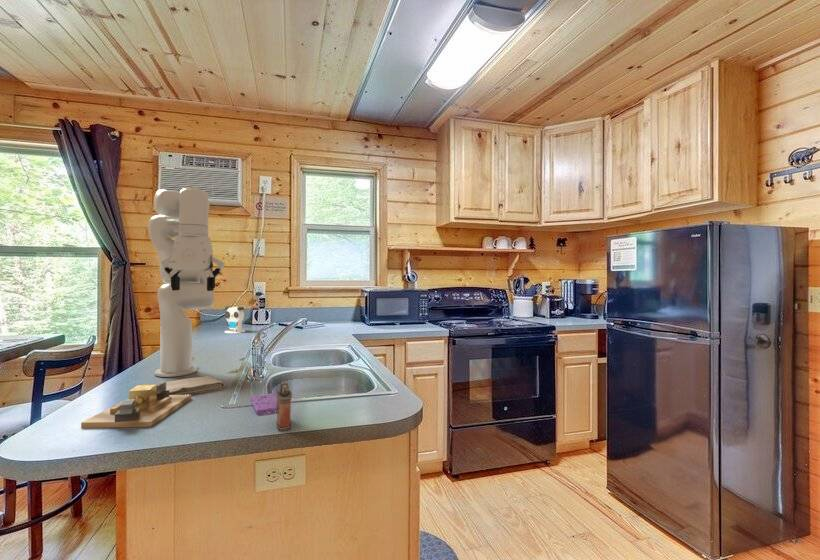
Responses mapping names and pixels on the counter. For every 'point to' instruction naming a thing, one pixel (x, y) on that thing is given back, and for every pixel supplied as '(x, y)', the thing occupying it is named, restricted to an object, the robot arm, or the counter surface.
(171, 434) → the counter surface
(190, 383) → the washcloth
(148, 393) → the coupler
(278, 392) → the amber flat bottle
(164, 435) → the counter surface
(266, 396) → the sponges
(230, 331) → the panda figurine
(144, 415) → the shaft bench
